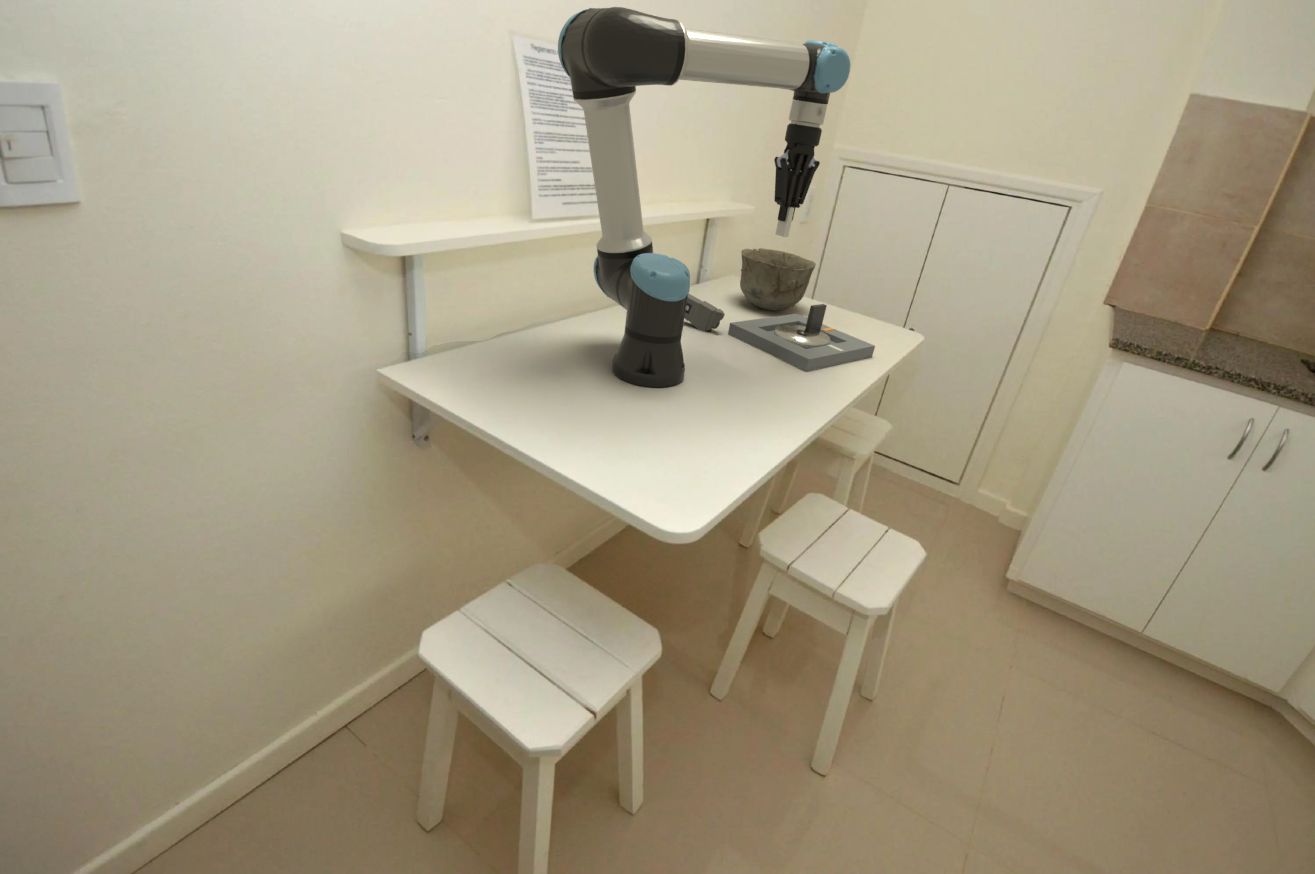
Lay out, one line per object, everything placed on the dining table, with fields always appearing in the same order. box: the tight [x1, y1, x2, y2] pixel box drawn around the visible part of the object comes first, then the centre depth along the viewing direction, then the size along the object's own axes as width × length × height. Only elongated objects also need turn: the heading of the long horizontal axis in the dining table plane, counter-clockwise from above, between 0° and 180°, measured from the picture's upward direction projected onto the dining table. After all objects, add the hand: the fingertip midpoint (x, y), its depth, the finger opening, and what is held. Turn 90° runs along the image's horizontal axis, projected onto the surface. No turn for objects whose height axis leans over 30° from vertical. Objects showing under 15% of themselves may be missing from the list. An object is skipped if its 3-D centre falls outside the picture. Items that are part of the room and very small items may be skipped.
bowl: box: [739, 247, 817, 311], centre depth 191 cm, size 22×22×15 cm
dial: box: [774, 303, 830, 349], centre depth 164 cm, size 14×14×8 cm
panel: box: [727, 313, 876, 372], centre depth 166 cm, size 26×26×3 cm
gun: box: [684, 292, 726, 332], centre depth 171 cm, size 3×25×15 cm, turn 61°
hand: (781, 235), depth 153 cm, fingers closed
